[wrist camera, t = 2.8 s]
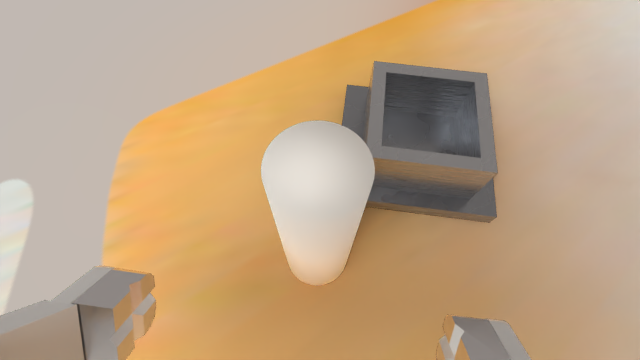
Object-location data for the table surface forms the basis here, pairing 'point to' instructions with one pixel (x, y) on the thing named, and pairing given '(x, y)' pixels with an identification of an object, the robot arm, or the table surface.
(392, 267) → the table surface
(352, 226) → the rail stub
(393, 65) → the cup bracket
